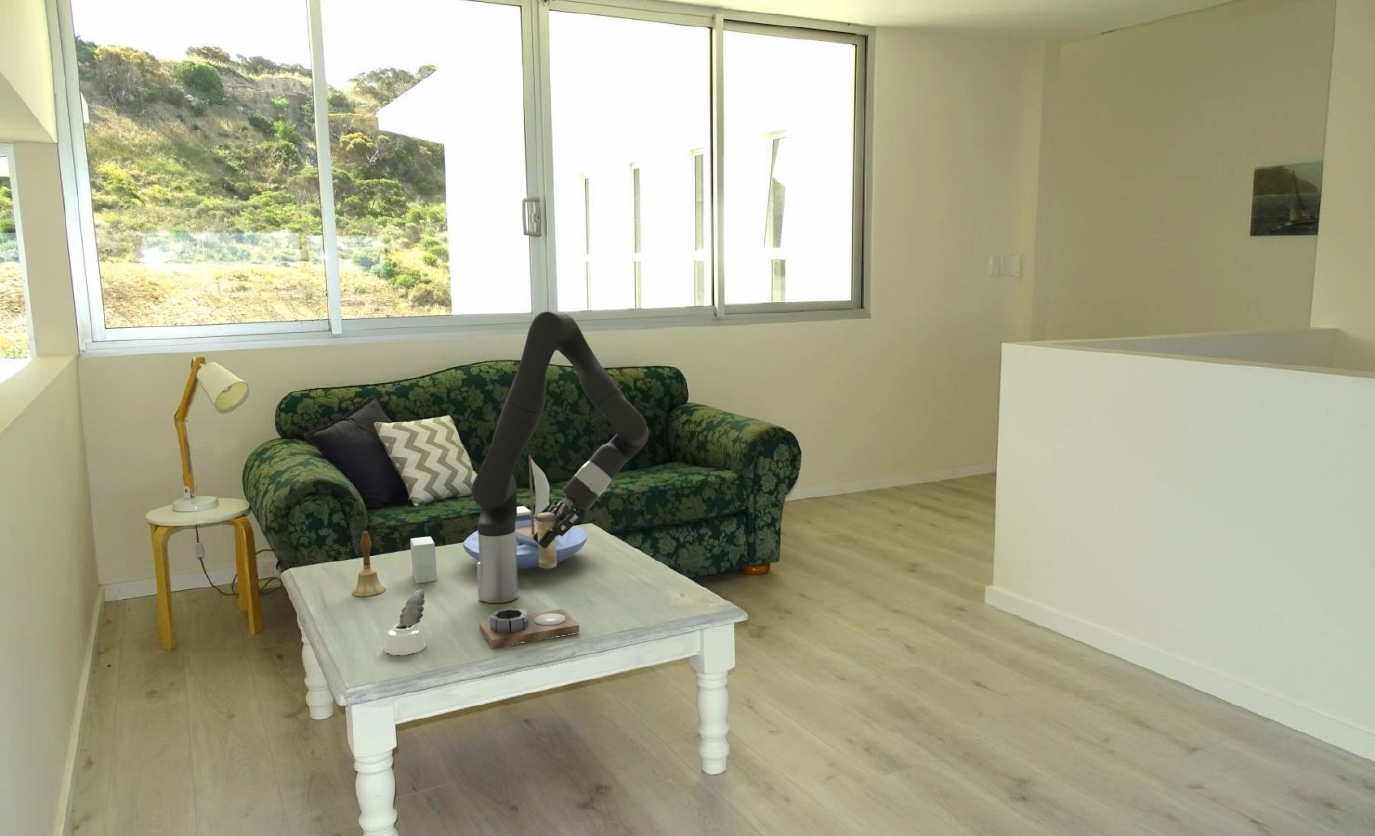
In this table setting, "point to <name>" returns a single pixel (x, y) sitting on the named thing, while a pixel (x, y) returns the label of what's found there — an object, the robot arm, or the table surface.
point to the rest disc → (549, 619)
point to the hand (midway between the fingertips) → (538, 543)
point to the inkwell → (407, 629)
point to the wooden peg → (549, 554)
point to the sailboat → (534, 528)
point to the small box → (423, 559)
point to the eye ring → (509, 620)
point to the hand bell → (367, 572)
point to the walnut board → (530, 630)
